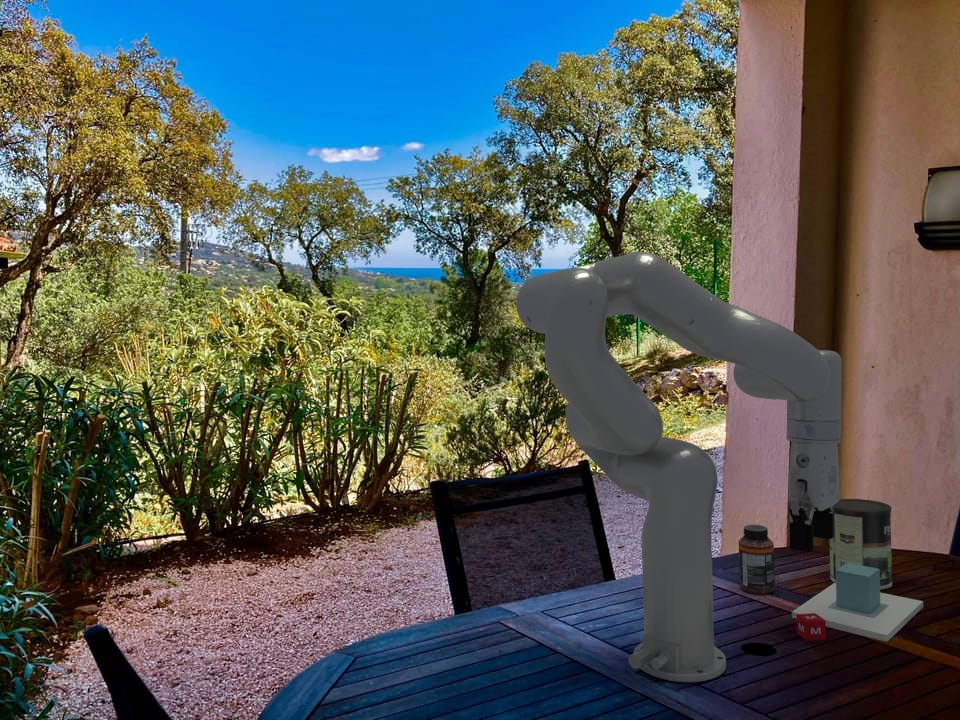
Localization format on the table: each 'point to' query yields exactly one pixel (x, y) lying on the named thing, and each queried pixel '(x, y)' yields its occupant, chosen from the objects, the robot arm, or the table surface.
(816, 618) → the red letter cube
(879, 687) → the table surface
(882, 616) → the pad
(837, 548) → the coffee can
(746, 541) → the supplement bottle
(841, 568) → the teal block
